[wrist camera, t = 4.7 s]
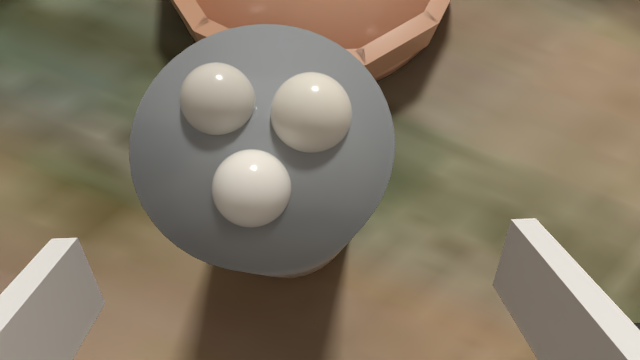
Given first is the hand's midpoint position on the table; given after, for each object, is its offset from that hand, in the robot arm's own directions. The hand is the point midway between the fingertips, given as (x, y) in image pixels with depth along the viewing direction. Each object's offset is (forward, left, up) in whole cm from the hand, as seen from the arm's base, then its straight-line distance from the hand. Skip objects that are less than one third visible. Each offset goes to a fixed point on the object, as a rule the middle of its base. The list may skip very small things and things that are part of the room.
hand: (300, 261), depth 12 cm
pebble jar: (-1, +3, -8) cm, 9 cm away
